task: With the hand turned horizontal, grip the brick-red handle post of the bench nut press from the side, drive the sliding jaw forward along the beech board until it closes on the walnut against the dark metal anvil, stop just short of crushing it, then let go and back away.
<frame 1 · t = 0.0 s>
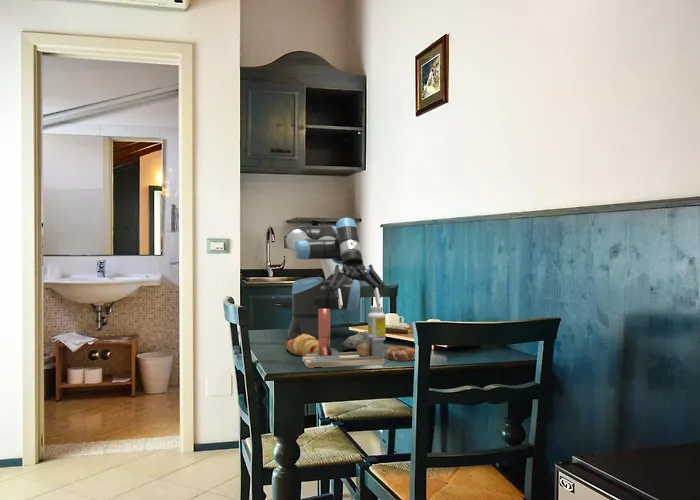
hand: (360, 306, 206), 15 cm above the table, tool tilted 35°, fingers open, 13 cm apart
rock: (359, 351, 207), on the table
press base: (343, 362, 187), on the table
supplement bottle: (376, 340, 228), on the table
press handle: (327, 333, 185), point 9 cm above the table, slide at 0.0 cm
pretzel: (400, 359, 195), on the table
croissant: (305, 354, 201), on the table
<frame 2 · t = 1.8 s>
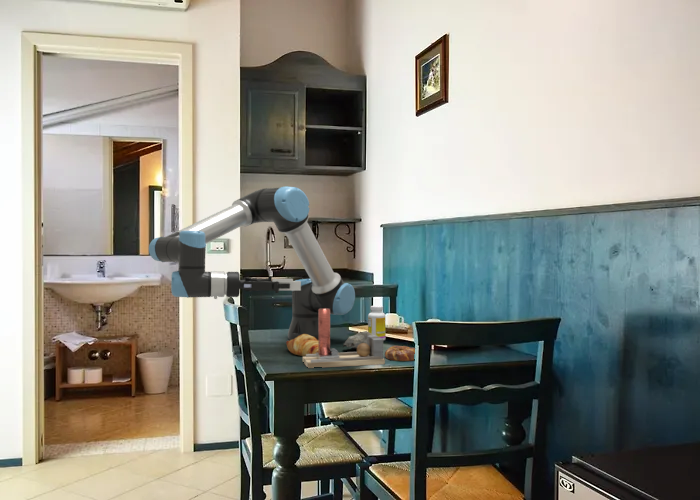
hand: (296, 284, 183), 25 cm above the table, tool horizontal, fingers open, 13 cm apart
nothing on the table moved.
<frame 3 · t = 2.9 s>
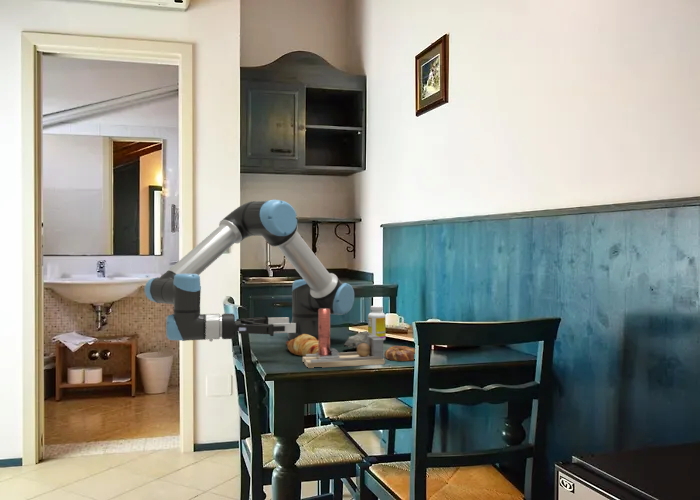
hand: (292, 324, 182), 13 cm above the table, tool horizontal, fingers open, 13 cm apart
nothing on the table moved.
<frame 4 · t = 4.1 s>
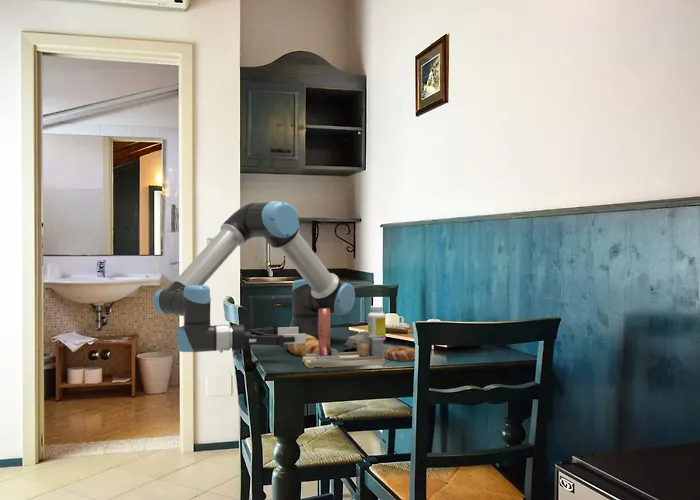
hand: (301, 334, 183), 9 cm above the table, tool horizontal, fingers open, 13 cm apart
nothing on the table moved.
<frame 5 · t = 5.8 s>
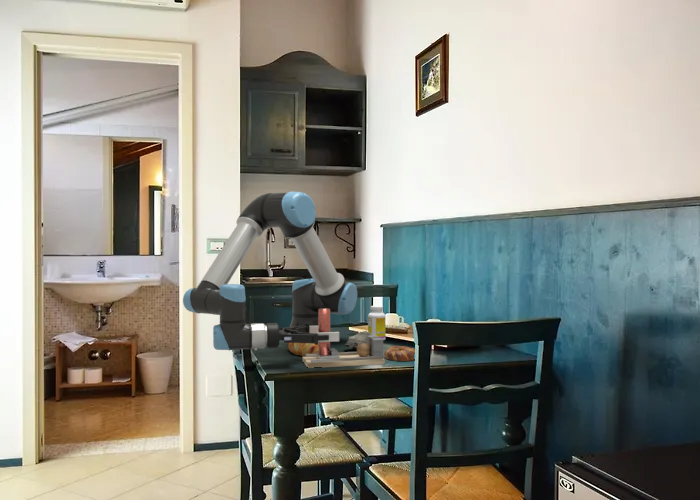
hand: (334, 332, 186), 9 cm above the table, tool horizontal, fingers open, 13 cm apart
nothing on the table moved.
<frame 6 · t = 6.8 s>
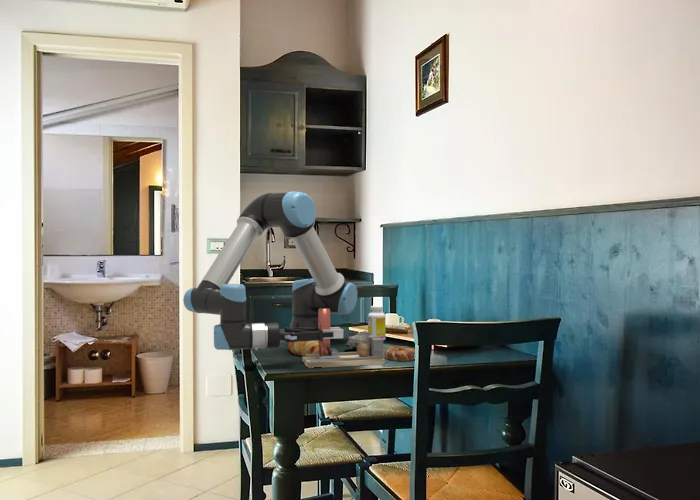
hand: (341, 332, 186), 10 cm above the table, tool horizontal, fingers closed on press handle, 4 cm apart
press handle: (327, 333, 185), point 9 cm above the table, slide at 0.0 cm, touching gripper
everything else where it was.
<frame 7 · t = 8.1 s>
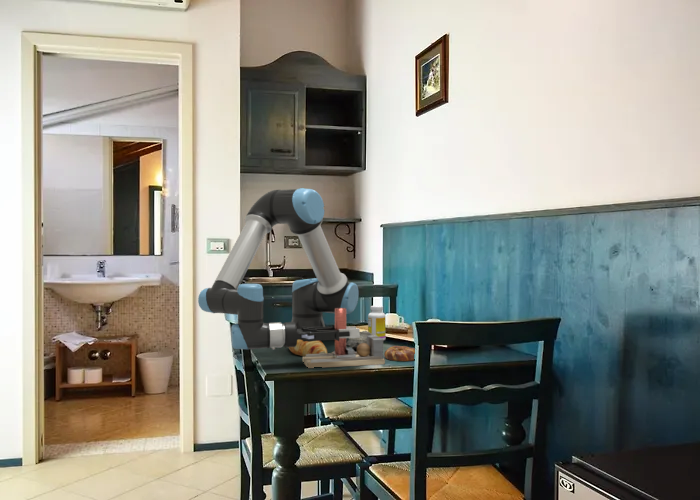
hand: (357, 331, 188), 10 cm above the table, tool horizontal, fingers closed on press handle, 4 cm apart
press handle: (343, 332, 187), point 9 cm above the table, slide at 5.2 cm, touching gripper
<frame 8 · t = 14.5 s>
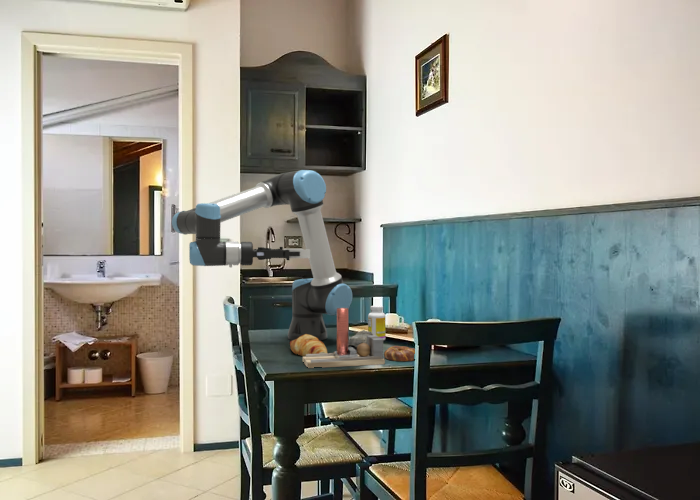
hand: (306, 253, 194), 34 cm above the table, tool horizontal, fingers open, 13 cm apart
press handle: (345, 332, 187), point 9 cm above the table, slide at 5.8 cm
at the end: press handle slide at 5.8 cm; the gripper is holding nothing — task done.
